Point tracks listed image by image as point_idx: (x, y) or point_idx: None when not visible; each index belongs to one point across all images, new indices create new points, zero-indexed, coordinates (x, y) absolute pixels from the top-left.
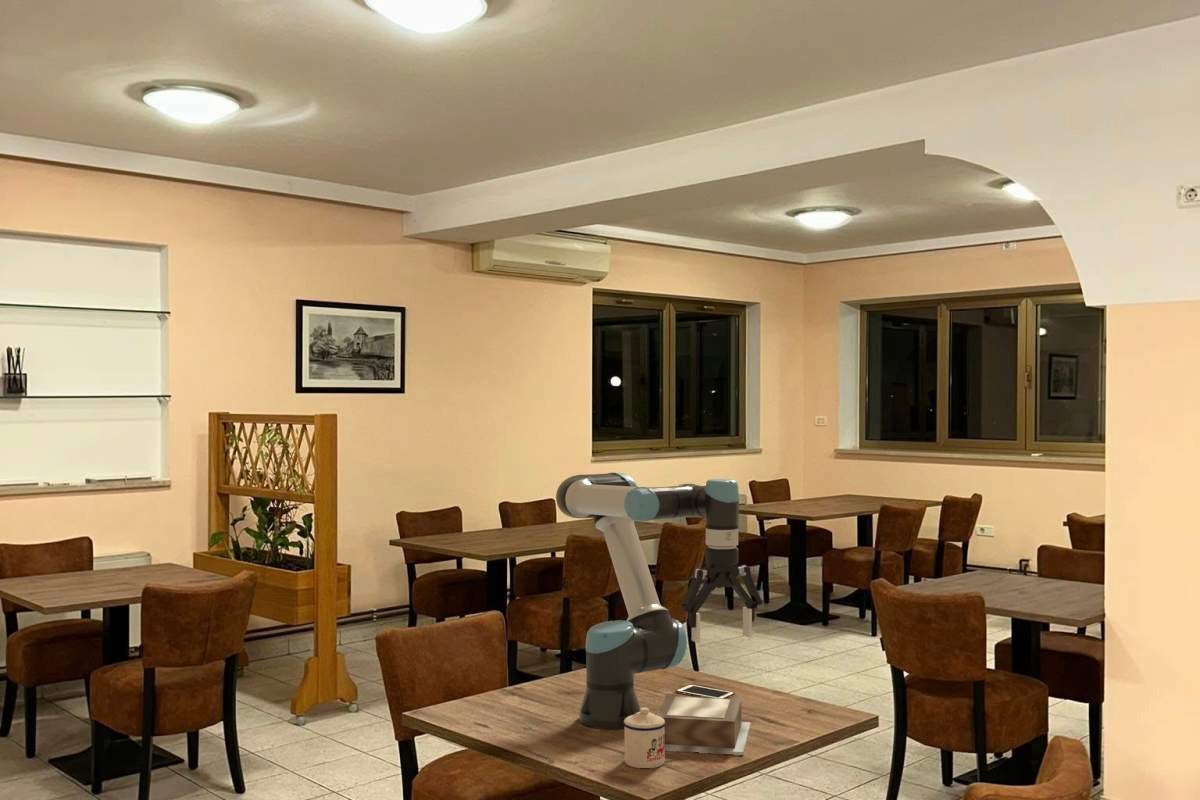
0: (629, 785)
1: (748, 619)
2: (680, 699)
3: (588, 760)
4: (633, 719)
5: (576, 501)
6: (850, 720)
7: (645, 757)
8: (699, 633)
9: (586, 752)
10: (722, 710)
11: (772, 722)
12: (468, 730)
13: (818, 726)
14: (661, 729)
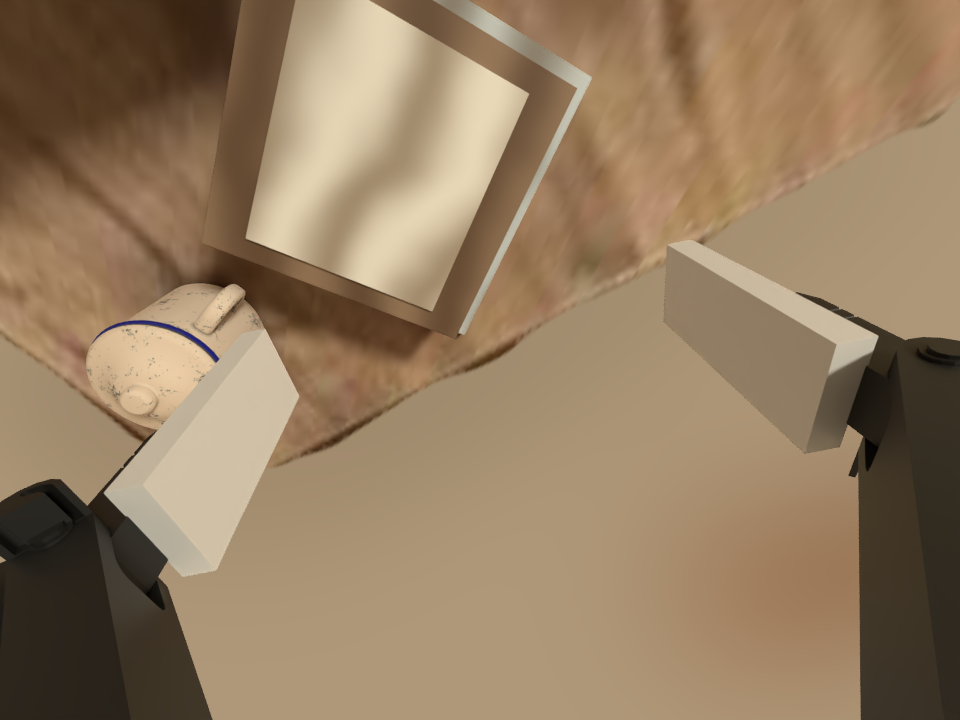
0: None
1: (735, 383)
2: (320, 26)
3: (53, 286)
4: (116, 401)
5: None
6: (896, 109)
7: None
8: (274, 435)
9: (29, 219)
10: (452, 233)
11: (674, 57)
12: None
13: (771, 145)
14: None
